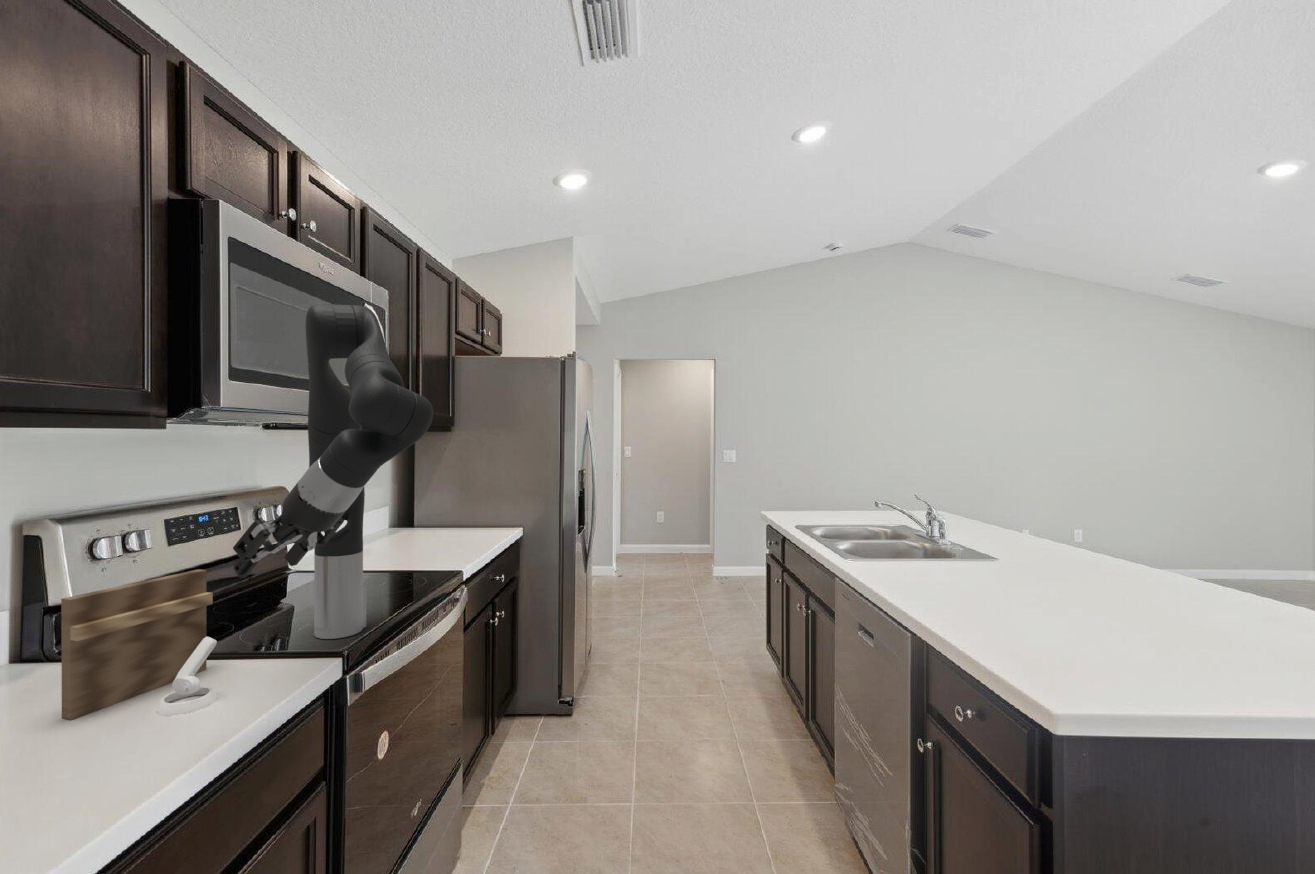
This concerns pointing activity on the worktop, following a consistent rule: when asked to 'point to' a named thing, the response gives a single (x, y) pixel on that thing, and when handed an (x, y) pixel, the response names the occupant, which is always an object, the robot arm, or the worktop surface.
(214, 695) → the white lever switch
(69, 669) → the wall board
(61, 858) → the worktop surface
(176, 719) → the worktop surface
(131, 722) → the worktop surface
